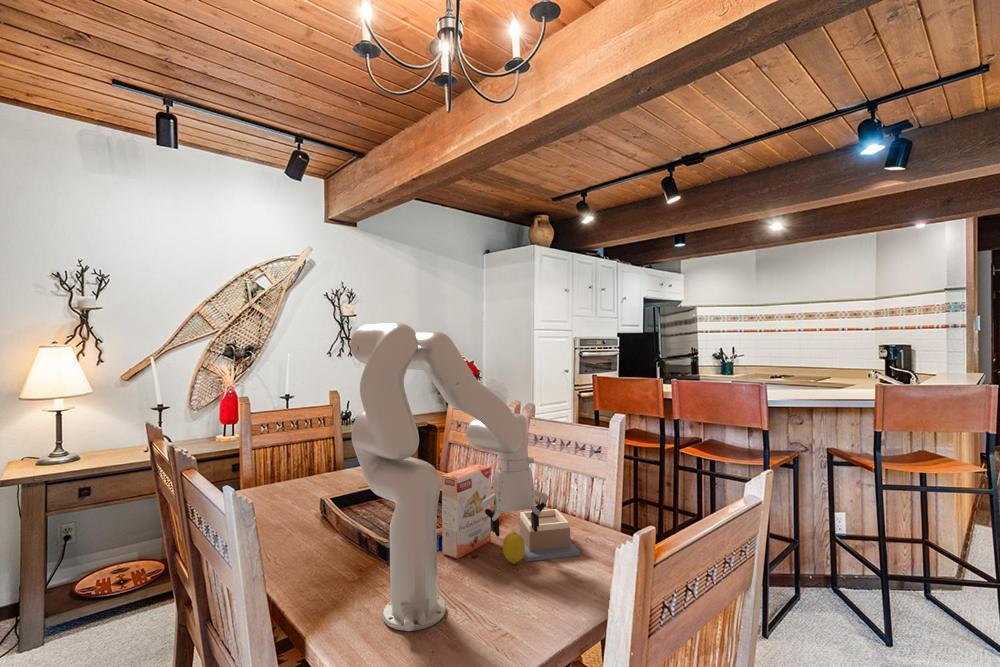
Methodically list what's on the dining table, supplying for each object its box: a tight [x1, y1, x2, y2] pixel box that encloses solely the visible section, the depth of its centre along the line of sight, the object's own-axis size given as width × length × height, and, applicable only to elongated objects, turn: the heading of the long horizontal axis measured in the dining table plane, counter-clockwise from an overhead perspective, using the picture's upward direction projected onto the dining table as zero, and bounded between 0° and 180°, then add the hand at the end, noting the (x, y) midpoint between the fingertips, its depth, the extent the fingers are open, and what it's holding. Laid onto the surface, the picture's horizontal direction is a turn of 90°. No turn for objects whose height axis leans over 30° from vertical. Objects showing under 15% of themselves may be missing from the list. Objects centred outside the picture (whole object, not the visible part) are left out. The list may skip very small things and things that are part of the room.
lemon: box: [502, 531, 525, 565], centre depth 123 cm, size 6×6×8 cm
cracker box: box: [441, 464, 492, 560], centre depth 133 cm, size 14×6×21 cm, turn 143°
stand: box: [514, 508, 581, 562], centre depth 134 cm, size 17×14×8 cm
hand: (515, 531), depth 124 cm, fingers open, 9 cm apart
